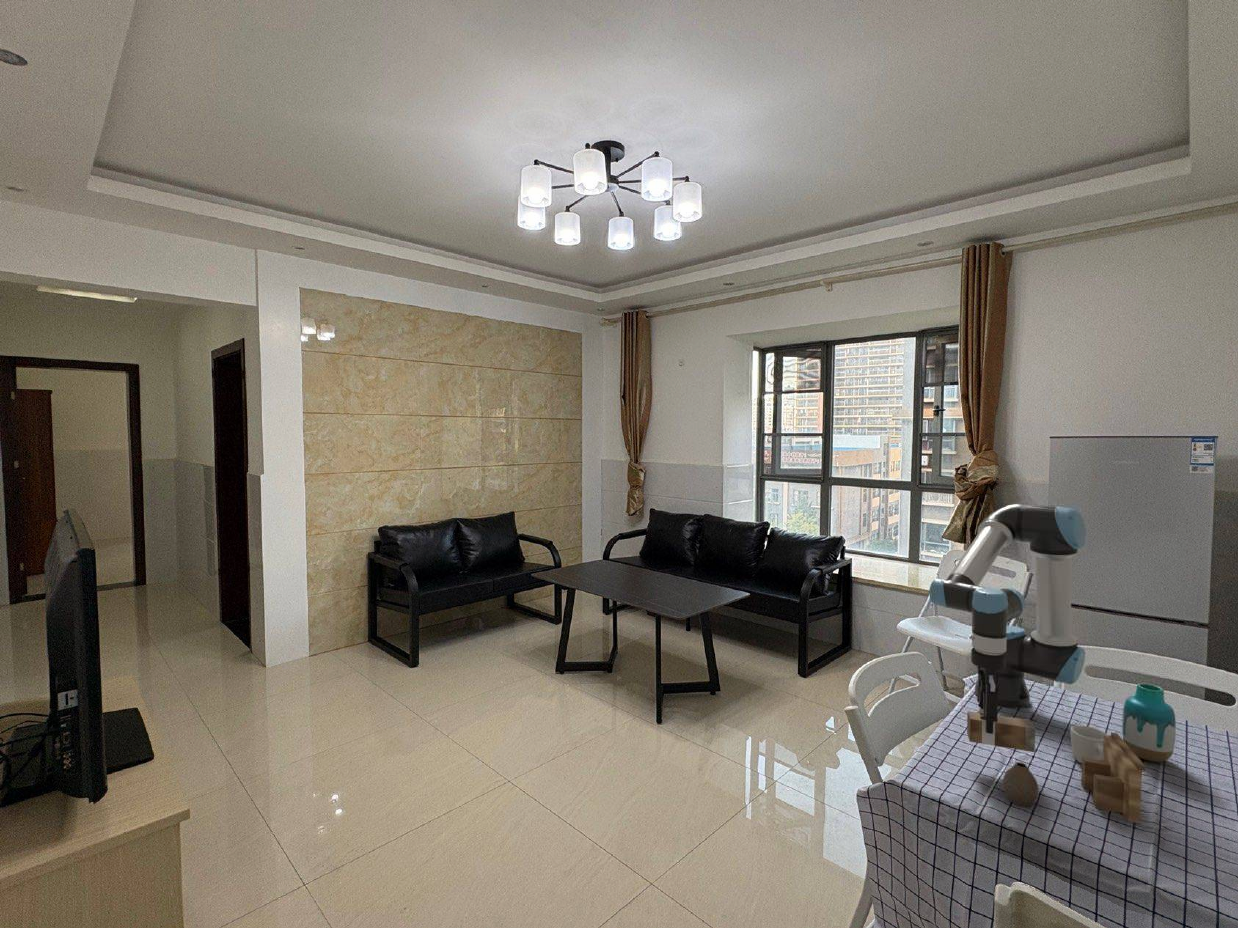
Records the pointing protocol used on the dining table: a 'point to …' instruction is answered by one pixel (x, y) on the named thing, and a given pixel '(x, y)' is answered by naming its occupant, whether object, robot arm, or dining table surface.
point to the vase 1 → (1020, 785)
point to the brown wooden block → (1004, 732)
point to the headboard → (1115, 778)
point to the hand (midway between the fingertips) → (986, 738)
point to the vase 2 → (1149, 724)
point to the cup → (1087, 742)
